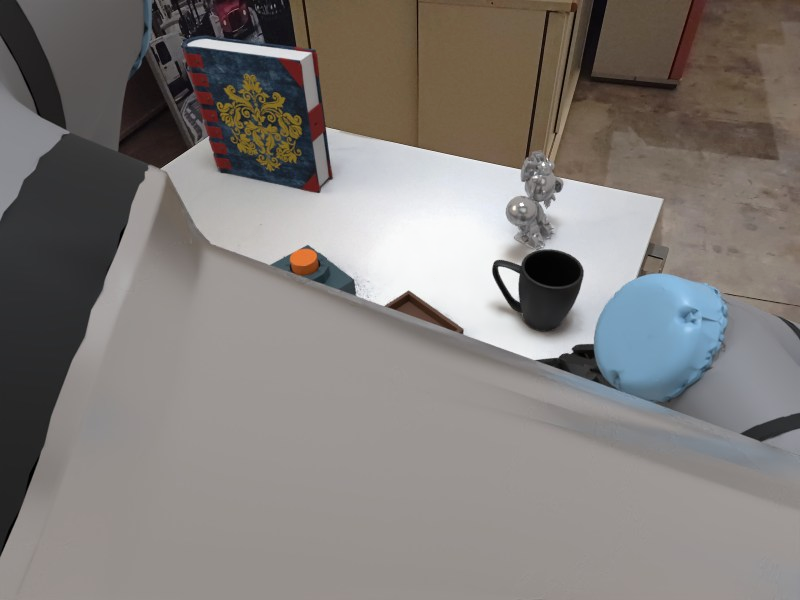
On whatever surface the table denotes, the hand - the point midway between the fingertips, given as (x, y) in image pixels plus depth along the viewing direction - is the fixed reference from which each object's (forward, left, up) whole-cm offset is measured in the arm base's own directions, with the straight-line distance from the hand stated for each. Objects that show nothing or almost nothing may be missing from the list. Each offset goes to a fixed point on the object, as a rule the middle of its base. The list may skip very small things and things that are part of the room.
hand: (500, 391), depth 66 cm
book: (+11, +69, -4) cm, 70 cm away
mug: (+16, +8, -4) cm, 18 cm away
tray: (-1, +17, -4) cm, 17 cm away
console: (-4, +35, -4) cm, 35 cm away
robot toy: (+30, +19, -4) cm, 35 cm away
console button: (-4, +35, +1) cm, 35 cm away
